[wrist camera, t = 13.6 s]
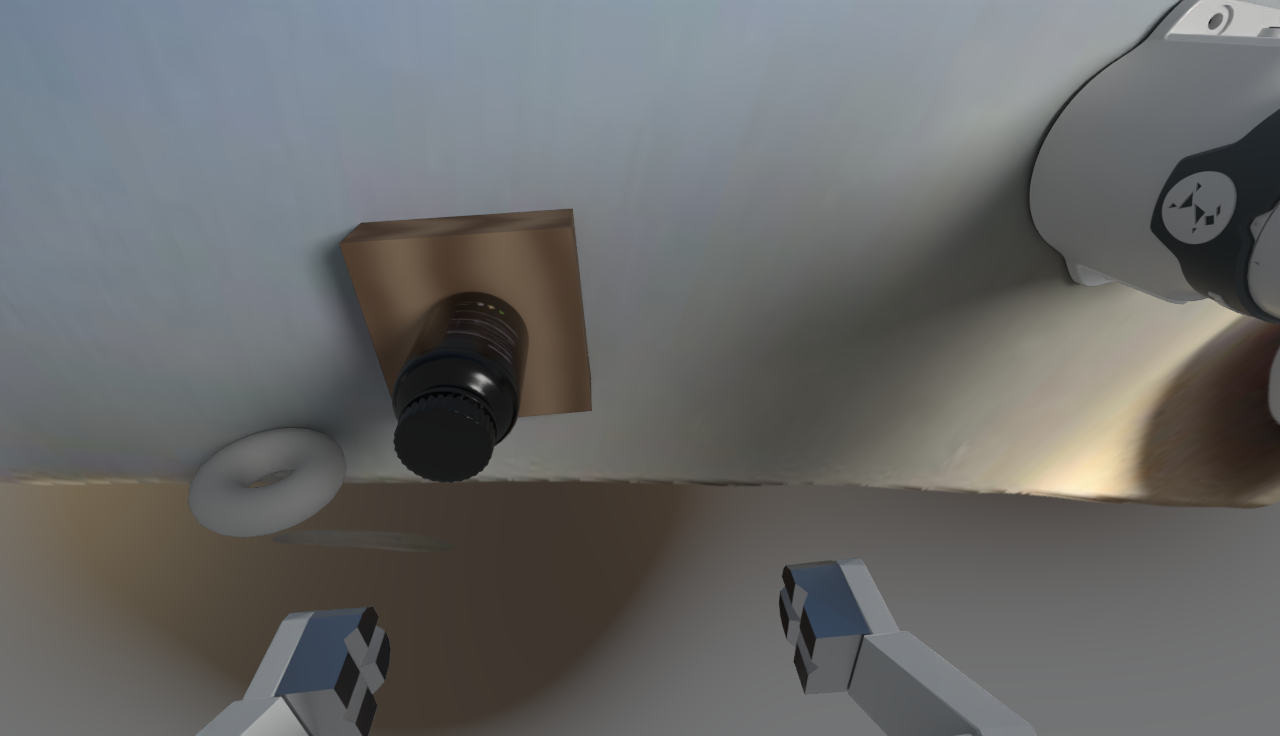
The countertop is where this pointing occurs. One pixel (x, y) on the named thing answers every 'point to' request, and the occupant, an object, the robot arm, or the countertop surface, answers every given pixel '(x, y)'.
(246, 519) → the donut
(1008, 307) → the countertop surface
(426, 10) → the countertop surface
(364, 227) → the walnut base
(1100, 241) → the robot arm
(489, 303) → the supplement bottle
